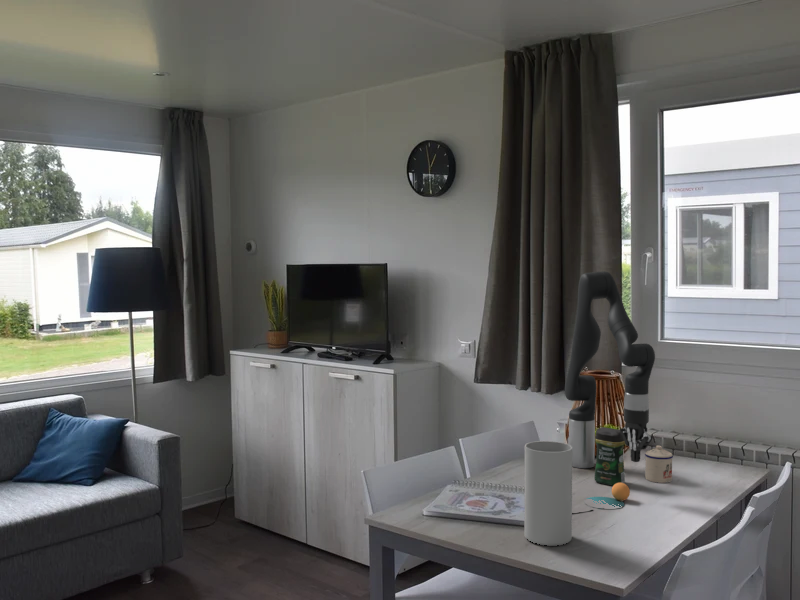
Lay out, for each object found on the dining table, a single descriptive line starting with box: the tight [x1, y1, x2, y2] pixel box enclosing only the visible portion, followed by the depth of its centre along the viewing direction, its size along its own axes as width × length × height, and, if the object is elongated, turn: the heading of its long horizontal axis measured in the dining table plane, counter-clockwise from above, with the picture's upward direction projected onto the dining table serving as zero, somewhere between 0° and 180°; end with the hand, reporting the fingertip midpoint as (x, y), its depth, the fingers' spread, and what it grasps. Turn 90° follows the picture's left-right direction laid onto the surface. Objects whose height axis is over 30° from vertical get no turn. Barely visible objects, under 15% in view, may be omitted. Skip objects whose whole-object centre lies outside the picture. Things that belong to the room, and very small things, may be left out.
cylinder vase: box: [523, 440, 573, 547], centre depth 198 cm, size 12×12×25 cm
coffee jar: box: [594, 426, 626, 487], centre depth 250 cm, size 10×8×19 cm
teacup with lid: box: [644, 445, 674, 484], centre depth 255 cm, size 12×9×12 cm
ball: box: [611, 482, 631, 502], centre depth 231 cm, size 6×6×6 cm
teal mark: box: [586, 496, 625, 507], centre depth 228 cm, size 12×12×1 cm
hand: (635, 461), depth 233 cm, fingers closed
